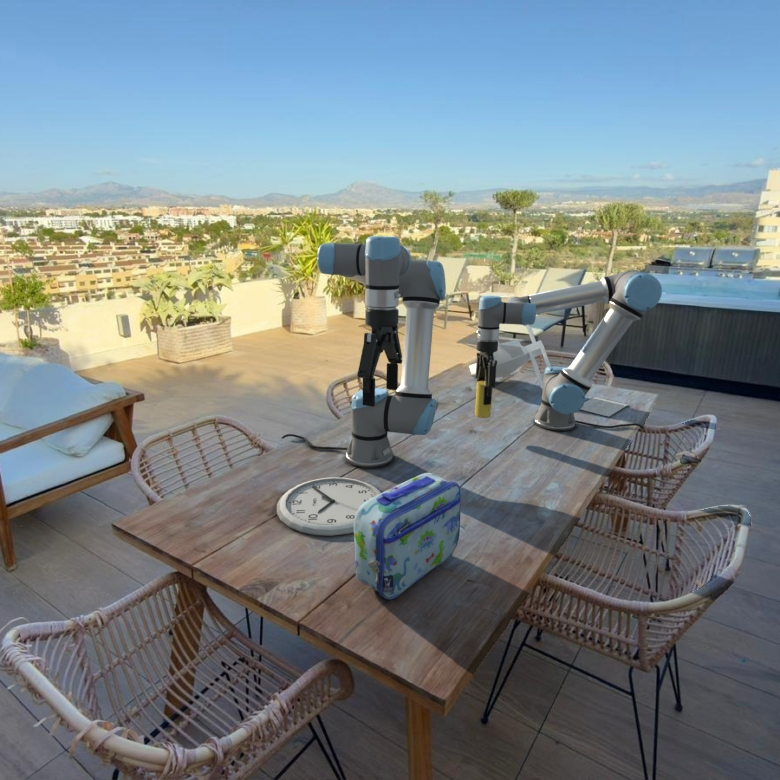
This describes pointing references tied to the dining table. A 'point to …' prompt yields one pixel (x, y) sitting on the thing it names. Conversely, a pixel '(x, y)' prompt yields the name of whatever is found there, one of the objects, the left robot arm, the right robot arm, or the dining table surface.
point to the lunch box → (406, 533)
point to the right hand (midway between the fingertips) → (483, 401)
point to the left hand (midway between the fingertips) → (380, 397)
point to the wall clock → (324, 505)
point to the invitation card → (602, 406)
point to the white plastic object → (517, 357)
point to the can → (481, 402)
